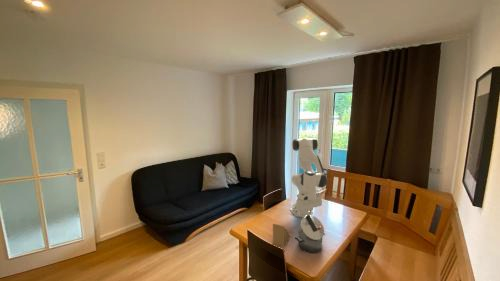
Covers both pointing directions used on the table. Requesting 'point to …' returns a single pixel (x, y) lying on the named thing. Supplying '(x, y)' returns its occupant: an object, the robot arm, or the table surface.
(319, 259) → the table surface
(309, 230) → the lid
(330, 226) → the table surface
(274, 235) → the sandwich container
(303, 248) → the cooker pot
